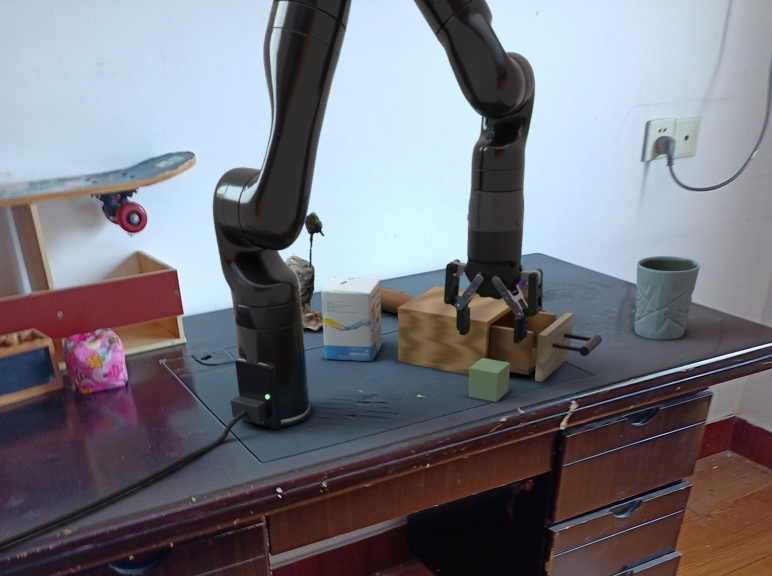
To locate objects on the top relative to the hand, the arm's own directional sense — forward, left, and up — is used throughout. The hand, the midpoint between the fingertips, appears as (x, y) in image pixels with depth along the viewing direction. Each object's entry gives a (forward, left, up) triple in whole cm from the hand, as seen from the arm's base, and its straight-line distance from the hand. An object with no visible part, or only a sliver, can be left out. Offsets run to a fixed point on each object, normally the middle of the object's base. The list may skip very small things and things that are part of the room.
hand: (490, 337), depth 121 cm
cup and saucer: (+30, +9, -9) cm, 33 cm away
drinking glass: (+38, -15, -9) cm, 42 cm away
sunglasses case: (+28, +33, -9) cm, 44 cm away
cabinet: (+11, +11, -9) cm, 18 cm away
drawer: (+11, -2, -8) cm, 14 cm away
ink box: (+5, +28, -9) cm, 30 cm away
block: (-1, 0, -9) cm, 9 cm away
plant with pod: (+13, +44, -9) cm, 47 cm away
